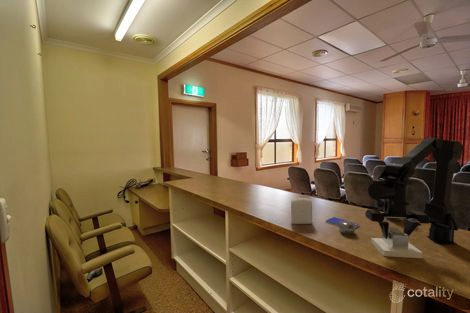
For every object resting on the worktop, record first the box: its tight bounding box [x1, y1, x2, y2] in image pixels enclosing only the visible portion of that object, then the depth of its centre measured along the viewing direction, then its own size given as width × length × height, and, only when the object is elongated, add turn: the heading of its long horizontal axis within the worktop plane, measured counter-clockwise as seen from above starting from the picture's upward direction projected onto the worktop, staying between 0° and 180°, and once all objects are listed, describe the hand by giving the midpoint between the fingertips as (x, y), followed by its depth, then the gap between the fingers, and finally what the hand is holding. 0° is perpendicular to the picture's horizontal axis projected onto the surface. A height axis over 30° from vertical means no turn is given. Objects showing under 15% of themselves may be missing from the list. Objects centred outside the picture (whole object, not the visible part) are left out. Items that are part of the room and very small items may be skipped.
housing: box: [382, 226, 410, 250], centre depth 81 cm, size 7×5×6 cm
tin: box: [338, 220, 356, 236], centre depth 97 cm, size 6×6×4 cm
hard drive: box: [325, 216, 360, 229], centre depth 106 cm, size 2×8×12 cm
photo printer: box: [290, 197, 313, 225], centre depth 108 cm, size 10×4×12 cm, turn 90°
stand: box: [370, 237, 423, 259], centre depth 81 cm, size 12×10×2 cm
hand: (395, 238), depth 81 cm, fingers open, 6 cm apart
